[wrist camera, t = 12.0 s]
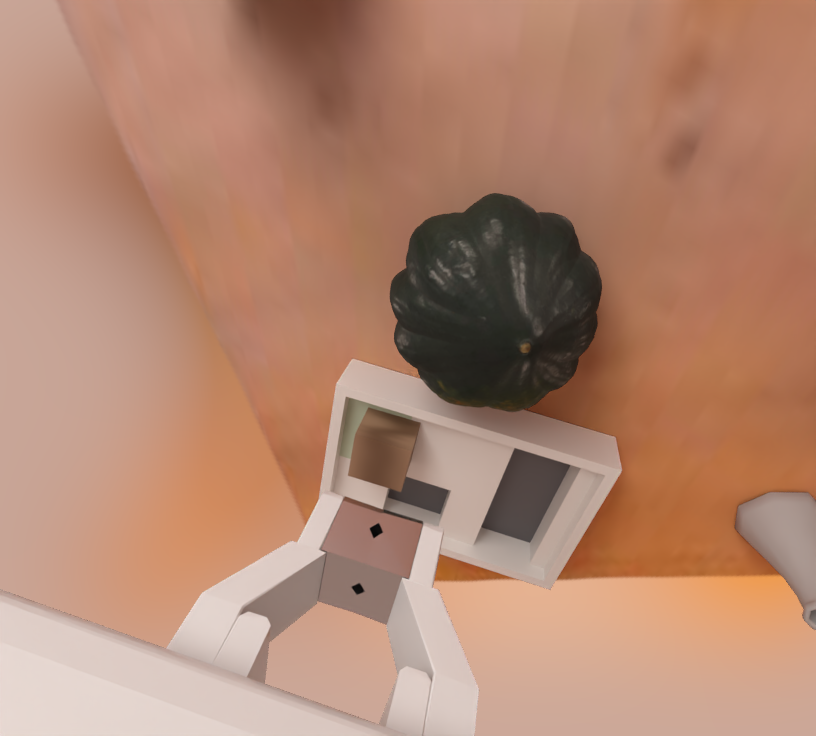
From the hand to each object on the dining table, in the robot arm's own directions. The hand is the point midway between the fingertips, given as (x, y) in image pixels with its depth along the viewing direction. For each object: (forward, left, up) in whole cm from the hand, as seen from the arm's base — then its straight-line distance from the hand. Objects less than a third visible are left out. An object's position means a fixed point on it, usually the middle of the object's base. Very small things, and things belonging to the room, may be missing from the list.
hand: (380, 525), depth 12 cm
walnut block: (+3, +22, -28) cm, 36 cm away
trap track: (-4, +25, -31) cm, 40 cm away
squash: (-2, +5, -31) cm, 32 cm away
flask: (-33, +20, -31) cm, 50 cm away
